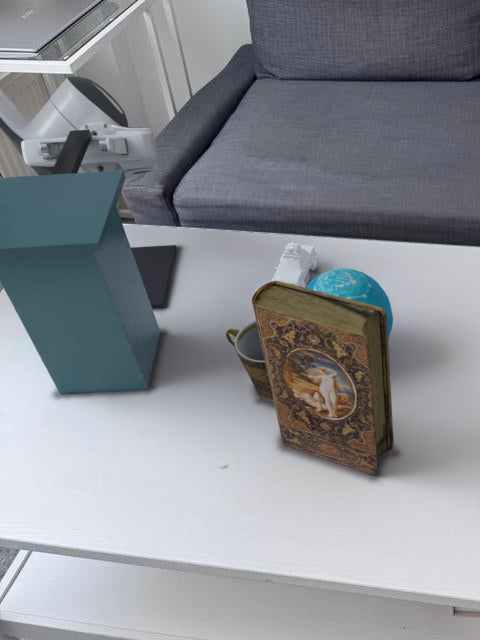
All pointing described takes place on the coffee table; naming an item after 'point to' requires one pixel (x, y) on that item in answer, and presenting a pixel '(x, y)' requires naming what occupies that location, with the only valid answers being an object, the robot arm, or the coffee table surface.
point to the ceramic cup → (252, 358)
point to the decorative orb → (353, 289)
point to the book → (327, 373)
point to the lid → (59, 205)
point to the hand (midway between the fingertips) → (73, 146)
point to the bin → (86, 314)
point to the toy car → (296, 264)
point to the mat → (155, 270)
